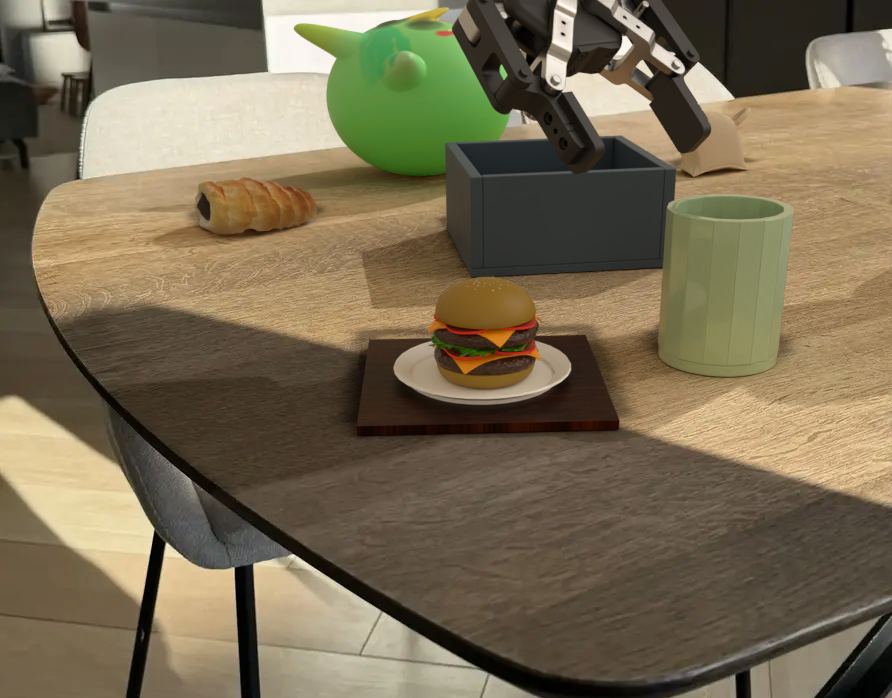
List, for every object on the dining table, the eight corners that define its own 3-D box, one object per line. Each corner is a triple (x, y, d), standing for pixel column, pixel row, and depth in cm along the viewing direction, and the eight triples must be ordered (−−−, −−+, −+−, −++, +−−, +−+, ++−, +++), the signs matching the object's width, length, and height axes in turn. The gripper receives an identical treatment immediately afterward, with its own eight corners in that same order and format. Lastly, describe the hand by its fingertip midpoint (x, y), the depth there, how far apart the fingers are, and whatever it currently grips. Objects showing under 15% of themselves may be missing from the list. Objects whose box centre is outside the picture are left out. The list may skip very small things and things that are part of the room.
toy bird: (545, 172, 106) (548, 6, 100) (416, 202, 95) (411, 18, 89) (415, 151, 118) (411, 1, 111) (287, 175, 107) (275, 11, 101)
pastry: (299, 209, 93) (296, 163, 92) (330, 227, 88) (327, 178, 86) (190, 224, 89) (184, 176, 88) (215, 243, 84) (209, 192, 82)
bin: (617, 221, 88) (621, 135, 85) (670, 267, 75) (676, 168, 73) (446, 229, 86) (444, 142, 84) (471, 277, 74) (470, 177, 71)
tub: (751, 334, 63) (765, 191, 59) (795, 373, 57) (814, 218, 54) (644, 340, 62) (652, 196, 59) (678, 380, 57) (690, 224, 53)
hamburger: (369, 347, 62) (364, 250, 60) (585, 342, 62) (588, 245, 60) (357, 435, 51) (350, 320, 49) (618, 429, 51) (624, 314, 49)
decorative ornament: (665, 170, 106) (668, 112, 104) (734, 161, 109) (739, 105, 107) (691, 177, 102) (695, 117, 100) (762, 168, 106) (768, 110, 104)
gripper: (433, -138, 56) (593, 123, 52) (625, -133, 64) (774, 93, 61) (374, -25, 62) (515, 216, 58) (557, -33, 70) (689, 178, 66)
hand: (647, 153), depth 59 cm, fingers open, 8 cm apart
